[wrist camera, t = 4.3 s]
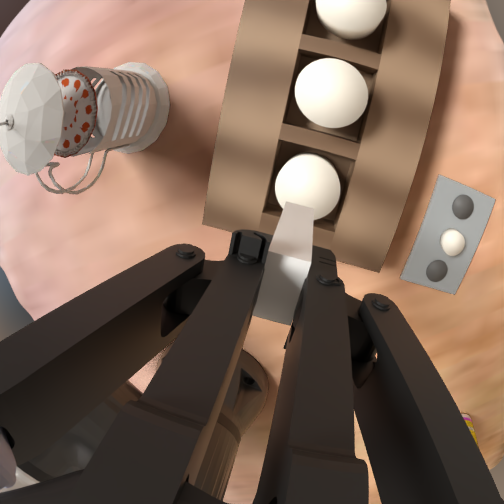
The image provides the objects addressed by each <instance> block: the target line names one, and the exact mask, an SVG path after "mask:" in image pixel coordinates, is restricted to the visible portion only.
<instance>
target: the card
mask: <svg viewBox="0 0 504 504" xmlns="http://www.w3.org/2000/svg"><path fill="white" fill-rule="evenodd" d="M495 200H496V199H494V198H492V197H490V196H488V195H486V194H483V193H481V192H479V191H477V190H475V189H472V188H470V187H468V186H466V185H463V184H461V183H459V182H456V181H454V180H451V179H449V178H447V177H444V176H442V175H438V178H437V181H436V184H435V187H434V190H433V193H432V196H431V199H430V202H429V205H428V208H427V211H426V213H425V216H424V219H423V222H422V224H421V227H420V230H419V232H418V235H417V237H416V240H415V242H414V245H413V247H412V250H411V252H410V255H409V257H408V260H407V262H406V264H405V267H404V269H403V271H402V274H401V276H400V279H402V280H406V281H409V282H413V283H416V284H419V285H423V286H426V287H430V288H433V289H437V290H440V291H444V292H447V293H450V294H454V295H455V293H456V291H457V289H458V287H459V285H460V283H461V281H462V279H463V277H464V275H465V273H466V271H467V269H468V266H469V264H470V262H471V260H472V258H473V255H474V253H475V251H476V249H477V246H478V244H479V242H480V239H481V237H482V234H483V232H484V229H485V227H486V224H487V222H488V219H489V216H490V214H491V211H492V208H493V205H494V203H495Z"/></svg>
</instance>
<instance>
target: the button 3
mask: <svg viewBox="0 0 504 504" xmlns="http://www.w3.org/2000/svg"><path fill="white" fill-rule="evenodd" d="M386 8H387V3H386V0H316V11H317V16H318V19H319V21H320V23H321V24H322V26H323V27H324V28H325V29H326V30H327V31H329V32H330V33H331V34H333V35H335V36H337V37H340V38H343V39H349V40H357V39H362V38H365V37H367V36H369V35H370V34H372V33H373V32H374V31H375V29H376V28H377V26H378V25H379V23H380V22H381V20H382V19H383V17H384V15H385V13H386Z"/></svg>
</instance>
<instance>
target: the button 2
mask: <svg viewBox="0 0 504 504" xmlns="http://www.w3.org/2000/svg"><path fill="white" fill-rule="evenodd" d="M295 97H296V101H297V104H298V106H299V108H300V110H301V111H302V113H303V114H304V115H305V116H306V117H307V118H308V119H309V120H311V121H312V122H314V123H316V124H318V125H320V126H323V127H328V128H340V127H344V126H347V125H350V124H352V123H353V122H355V121H356V120H357V119H358V118H359V117H360V116H361V115H362V113H363V112H364V110H365V108H366V105H367V101H368V89H367V85H366V83H365V80H364V78H363V77H362V75H361V74H360V72H359V71H358V70H357V69H356V68H354V67H353V66H352V65H350V64H349V63H347V62H345V61H342V60H339V59H333V58H325V59H320V60H317V61H314V62H312V63H310V64H309V65H307V66H306V67H305V68H304V69H303V70H302V71H301V73H300V74H299V76H298V78H297V81H296V85H295Z"/></svg>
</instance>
